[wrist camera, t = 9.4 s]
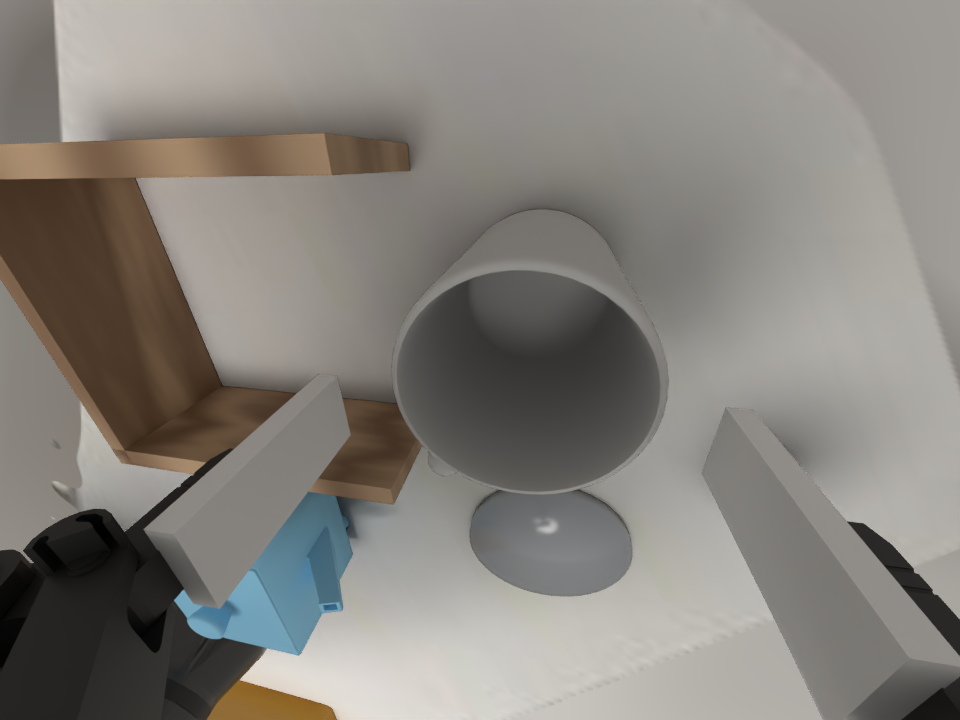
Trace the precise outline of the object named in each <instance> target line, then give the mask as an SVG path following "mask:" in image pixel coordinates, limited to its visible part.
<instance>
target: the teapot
mask: <svg viewBox="0 0 960 720" xmlns="http://www.w3.org/2000/svg"><path fill="white" fill-rule="evenodd" d="M348 526H349V521H348V519H347V518H346V517H345V516H343V515H342V514H341V511H340V508H339V504H338V501H337V498H336V496H334V495H327V494H320V493H314V492H307V494H306V495H305V496H304V498H303V499H302V500H301V502H300V503H299V504H298V506H297V507H296V508H295V510H294V511H293V512H292V514H291V515H290V516H289V518H288V519H287V520H286V522H285V523H284V524H283V526H282V527H281V528H280V530H279V531H278V532H277V534H276V535H275V536H274V538H273V539H272V540H271V542H270V543H269V544H268V546H267V547H266V548H265V550H264V551H263V552H262V554H261V555H260V556H259V558H258V559H257V560H256V562H255V563H254V564H253V566H252V567H251V568H250V570H249V571H248V572H247V574H246V575H245V576H244V578H243V579H242V580H241V582H240V583H239V584H238V586H237V587H236V588H235V590H234V591H233V592H232V594H231V595H230V596H229V598H228V599H227V600H226V602H225V603H224V604H223V606H222V607H221V608H220V609H218V608H213V607H208V606H203V605H198V604H193V603H192V601H191V600H190V598H189V597H188V595H187V594H186V592H185V591H184V590H183V591H182V592H181V593H180V594H179V595H178V596H177V598H176V599H175V600H174V601H175V602H176V604H177V605H178V606H179V608H180V609H181V610H182V612H183V613H184V614H185V616H186V617H187V618H188V619H187V623H188V625H189V626H190V628H191V629H192V630H194V631H195V632H196V633H198V634H200V635H202V636H204V637H207V638H210V639H221V638H222V637H223V638H227V639H231V640H235V641H239V642H244V643H248V644H252V645H256V646H261V647H265V648H269V649H273V650H278V651H282V652H286V653H290V654H294V655H300V654H301V653H302V651H303V649H304V647H305V645H306V643H307V641H308V639H309V637H310V635H311V634H312V632H313V630H314V628H315V626H316V624H317V622H318V620H319V618H320V616H321V614H322V613H328V612H337V611H342V610H343V603H342V596H341V588H340V581H339V580H340V578H341V576H342V574H343V573H344V571H345V569H346V567H347V565H348V563H349V561H350V559H351V557H352V555H353V552H352V549H351V545H350V542H349V538H348V535H347V531H346V528H347V527H348Z"/></svg>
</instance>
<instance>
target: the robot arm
mask: <svg viewBox="0 0 960 720" xmlns="http://www.w3.org/2000/svg"><path fill="white" fill-rule="evenodd" d="M350 435H351V434H350V430H349V425H348V421H347V416H346V412H345V408H344V403H343V399H342V395H341V390H340V386H339V381H338V377H337V376H332V375H319V374H318V375H317V376H316V377H315V378H314V379H313V380H311V381H310V382H309V383H308V384H307V385H306V386H305V387H304V388H302V389H301V390H300V391H299V392H298V393H297V394H296V395H294V396H293V397H292V398H291V399H290V400H289V401H288V402H287V403H285V404H284V405H283V406H282V407H281V408H280V409H279V410H278V411H276V412H275V413H274V414H273V415H272V416H271V417H270V418H269V419H267V420H266V421H265V422H264V423H263V424H262V425H261V426H259V427H258V428H257V429H256V430H255V431H254V432H253V433H252V434H250V435H249V436H248V437H247V438H246V439H245V440H244V441H243V442H241V443H240V444H239V445H238V446H237V447H236V448H235V449H233V448H229V449H228V450H226V451H224V452H222V453H220V454H219V455H217V456H215V457H213V458H211V459H210V460H209V461H208V462H206V463H205V464H204V465H203V466H202V467H200V468H199V469H198V470H197V471H196V472H195V473H194V475H193V476H190V477H189V478H188V479H186V480H185V481H184V482H183V483H182V484H181V486H180V487H177V488H176V489H175V490H174V491H172V492H171V493H170V494H169V495H168V496H167V497H165V498H164V499H163V500H162V501H161V502H160V503H158V504H157V505H156V506H155V507H154V508H152V509H151V510H150V511H149V512H148V513H147V514H145V515H144V516H143V517H142V518H141V519H140V520H138V521H137V522H136V523H135V524H134V525H133V526H131V527H130V528H129V529H128V530H127V531H125V532H124V531H123V530H122V528H121V527H120V525H119V524H118V523H117V521H116V520H115V518H114V517H113V516H112V514H111V513H110V512H108V511H107V510H105V509H92V510H87V511H83V512H79V513H77V514H74V515H71V516H69V517H67V518H64V519H62V520H60V521H58V522H57V523H55V524H53V525H52V526H50V527H48V528H46V529H45V530H44V531H43V532H41V533H40V534H39V535H38V536H36V537H35V538H34V539H32V540H31V542H30V543H29V544H28V545H27V546H26V548H25V549H24V550H23V551H24V552H25V553H26V555H27V556H28V557H29V558H30V559H31V560H32V561H33V562H34V563H29V561H28V560H27V559H26V558H25V557H24V556H23V555H22V554H21V553H20V552H18V551H16V550H2V551H0V720H207V718H208V717H209V715H210V713H211V712H212V710H213V709H214V707H215V706H216V704H217V703H218V702H219V700H220V699H221V698H222V697H223V696H224V695H225V694H226V693H227V692H228V691H229V690H230V689H231V688H232V687H233V686H234V685H235V684H236V683H237V682H238V681H239V680H240V678H241V677H242V676H243V675H244V674H245V673H246V672H247V671H248V670H249V669H250V668H251V667H252V666H253V665H254V663H255V662H256V661H258V660H259V659H260V658H261V656H262V655H263V654H264V652H265V651H266V649H267V648H265V647H261V646H256V645H252V644H248V643H244V642H239V641H235V640H231V639H227V638H223V637H222V638H221V639H210V638H207V637H204V636H202V635H200V634H198V633H196V632H195V631H194V630H192V629H191V628H190V626H189V625H188V623H187V619H188V618H187V617H186V616H185V614H184V613H183V612H182V610H181V609H180V608H179V606H178V605H177V604H176V602H175V601H174V600H175V599H176V598H177V596H178V595H179V594H180V593H181V592H182V591H183V590H184V591H185V592H186V594H187V595H188V597H189V598H190V600H191V601H192V603H193V604H198V605H203V606H208V607H213V608H218V609H220V608H221V607H222V606H223V604H224V603H225V602H226V600H227V599H228V598H229V596H230V595H231V594H232V592H233V591H234V590H235V588H236V587H237V586H238V584H239V583H240V582H241V580H242V579H243V578H244V576H245V575H246V574H247V572H248V571H249V570H250V568H251V567H252V566H253V564H254V563H255V562H256V560H257V559H258V558H259V556H260V555H261V554H262V552H263V551H264V550H265V548H266V547H267V546H268V544H269V543H270V542H271V540H272V539H273V538H274V536H275V535H276V534H277V532H278V531H279V530H280V528H281V527H282V526H283V524H284V523H285V522H286V520H287V519H288V518H289V516H290V515H291V514H292V512H293V511H294V510H295V508H296V507H297V506H298V504H299V503H300V502H301V500H302V499H303V498H304V496H305V495H306V494H307V492H308V491H309V490H310V488H311V487H312V486H313V484H314V483H315V482H316V480H317V479H318V478H319V476H320V475H321V474H322V472H323V471H324V470H325V468H326V467H327V466H328V464H329V463H330V462H331V460H332V459H333V458H334V456H335V455H336V454H337V452H338V451H339V450H340V448H341V447H342V446H343V444H344V443H345V442H346V440H347V439H348V438H349V436H350ZM702 474H703V476H704V478H705V480H706V482H707V484H708V486H709V488H710V490H711V492H712V494H713V496H714V498H715V500H716V502H717V504H718V506H719V509H720V511H721V513H722V515H723V517H724V519H725V521H726V523H727V525H728V527H729V529H730V531H731V533H732V535H733V537H734V539H735V541H736V543H737V545H738V547H739V549H740V551H741V553H742V555H743V557H744V559H745V561H746V563H747V565H748V567H749V569H750V571H751V573H752V575H753V577H754V579H755V581H756V583H757V585H758V587H759V589H760V591H761V593H762V595H763V597H764V599H765V601H766V603H767V605H768V607H769V609H770V611H771V613H772V615H773V617H774V619H775V621H776V623H777V625H778V627H779V629H780V631H781V633H782V635H783V637H784V639H785V641H786V643H787V646H788V647H789V650H790V652H791V654H792V656H793V658H794V660H795V662H796V664H797V666H798V668H799V670H800V672H801V674H802V676H803V678H804V680H805V682H806V684H807V686H808V688H809V690H810V692H811V694H812V696H813V698H814V700H815V702H816V704H817V706H818V708H819V710H820V712H821V714H822V716H823V718H824V720H960V619H958V617H957V616H956V615H955V614H954V613H953V612H952V611H951V609H950V608H949V607H948V606H947V605H946V604H945V603H944V602H943V601H942V600H941V598H940V597H939V596H938V595H934V594H933V592H932V589H931V588H930V586H929V585H928V584H927V583H926V582H925V581H924V580H923V579H922V578H921V577H920V575H919V574H915V573H914V569H913V568H912V566H911V565H910V564H909V563H908V562H907V561H906V560H905V559H904V558H903V557H902V555H901V554H900V553H899V552H898V551H897V550H896V549H895V548H894V547H893V545H891V544H890V543H889V542H887V541H886V540H885V539H883V538H882V537H881V536H879V535H878V534H877V533H875V532H874V531H873V530H871V529H870V528H869V527H867V526H866V525H865V524H863V523H855V522H847V521H846V520H845V519H844V518H843V516H842V515H841V514H840V513H839V512H838V510H837V509H836V508H835V507H834V506H833V505H832V503H831V502H830V501H829V500H828V499H827V497H826V496H825V495H824V494H823V493H822V491H821V490H820V489H819V488H818V487H817V485H816V484H815V483H814V482H813V481H812V479H811V478H810V477H809V476H808V475H807V473H806V472H805V471H804V470H803V469H802V468H801V466H800V465H799V464H798V463H797V462H796V460H795V459H794V458H793V457H792V456H791V454H790V453H789V452H788V451H787V450H786V448H785V447H784V446H783V445H782V444H781V442H780V441H779V440H778V439H777V438H776V437H775V435H774V434H773V433H772V432H771V431H770V429H769V428H768V427H767V426H766V425H765V423H764V422H763V421H762V420H761V419H760V417H759V416H758V415H757V414H756V413H755V411H754V410H751V409H739V408H727V407H726V408H725V411H724V414H723V417H722V419H721V422H720V425H719V427H718V430H717V433H716V436H715V438H714V441H713V444H712V446H711V449H710V452H709V455H708V457H707V460H706V463H705V465H704V468H703V471H702Z"/></svg>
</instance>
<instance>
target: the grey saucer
mask: <svg viewBox="0 0 960 720" xmlns="http://www.w3.org/2000/svg"><path fill="white" fill-rule="evenodd" d="M470 543H471V546H472V549H473V551H474V553H475V555H476V556H477V558H478V559H479V560H480V562H481V563H482V564H483V565H484V566H485V567H486V568H487V569H488V570H489V571H490V572H492V573H493V574H494V575H496V576H497V577H499V578H500V579H502V580H504V581H505V582H507V583H509V584H511V585H514V586H516V587H519V588H521V589H524V590H527V591H530V592H534V593H539V594H544V595H551V596H580V595H586V594H591V593H594V592H598V591H600V590H603V589H606V588H607V587H609V586H611V585H613V584H614V583H616V582H617V581H618V580H620V579H621V578H622V577H623V576H624V575H625V573H626V572H627V570H628V569H629V566H630V564H631V560H632V546H631V540H630V536H629V532H628V530H627V528H626V526H625V524H624V522H623V521H622V520H621V518H620V517H619V516H618V515H617V514H616V513H615V512H614V511H613V510H612V509H611V508H610V507H609V506H607V505H606V504H605V503H603V502H602V501H600V500H598V499H597V498H595V497H593V496H591V495H589V494H587V493H584V492H581V491H579V490H573V491H569V492H563V493H557V494H542V495H539V494H521V493H513V492H507V491H503V490H500V491H498V492H496V493H494V494H492V495H491V496H489V497H488V498H486V499H485V500H484V501H483V502H482V503H481V504H480V505H479V507H478V508H477V509H476V511H475V513H474V516H473V519H472V523H471V527H470Z"/></svg>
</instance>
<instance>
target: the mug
mask: <svg viewBox="0 0 960 720" xmlns="http://www.w3.org/2000/svg"><path fill="white" fill-rule="evenodd" d="M391 368H392V384H393V389H394V395H395V398H396V401H397V404H398V407H399V410H400V412H401V414H402V416H403V418H404V420H405V422H406V424H407V425H408V427H409V428H410V430H411V432H412V433H413V435H414V436H415V437H416V438H417V440H418V441H419V442H420V443H421V444H422V446H423V447H424V448H425V449H426V450H427V451H428V452H429V454H428V464H429V466H430V467H431V469H432V470H433V471H434V472H435V473H437V474H439V475H441V476H451V475H453V474H455V473H458V474H460V475H462V476H464V477H465V478H467V479H469V480H472V481H474V482H477V483H479V484H481V485H484V486H488V487H491V488H494V489H498V490H503V491H507V492H513V493H521V494H539V495H542V494H557V493H563V492H569V491H573V490H577V489H581V488H585V487H588V486H590V485H593V484H595V483H598V482H601V481H602V480H604V479H606V478H608V477H610V476H612V475H614V474H615V473H617V472H618V471H620V470H621V469H623V468H624V467H625V466H627V465H628V464H629V463H630V462H631V461H633V460H634V459H635V458H636V457H637V456H638V455H639V454H640V453H641V452H642V451H643V449H644V448H645V447H646V446H647V445H648V444H649V442H650V441H651V439H652V437H653V436H654V434H655V433H656V431H657V429H658V427H659V424H660V422H661V420H662V417H663V414H664V410H665V406H666V402H667V398H668V385H669V379H668V368H667V362H666V358H665V354H664V351H663V347H662V343H661V341H660V339H659V337H658V335H657V332H656V330H655V328H654V326H653V324H652V322H651V320H650V318H649V316H648V315H647V313H646V311H645V310H644V308H643V306H642V304H641V303H640V301H639V299H638V298H637V296H636V294H635V292H634V291H633V289H632V287H631V286H630V284H629V282H628V281H627V279H626V277H625V275H624V274H623V272H622V270H621V269H620V267H619V265H618V263H617V261H616V259H615V257H614V255H613V253H612V251H611V249H610V247H609V246H608V244H607V243H606V241H605V240H604V239H603V238H602V236H601V235H600V234H599V233H598V232H597V231H596V230H595V229H594V228H592V227H591V226H590V225H589V224H588V223H586V222H584V221H583V220H581V219H579V218H577V217H575V216H573V215H570V214H568V213H564V212H561V211H557V210H548V209H534V210H528V211H523V212H519V213H516V214H513V215H511V216H509V217H507V218H504V219H502V220H501V221H499V222H498V223H496V224H494V225H493V226H492V227H490V228H489V229H488V230H487V231H486V232H485V233H483V234H482V236H481V237H480V238H479V239H478V240H477V241H476V242H475V244H474V245H473V246H472V247H471V248H470V249H469V250H468V251H467V252H466V253H465V254H463V255H462V256H461V257H460V258H459V259H458V260H457V261H456V262H455V263H454V264H453V265H452V266H451V267H450V268H449V269H448V270H447V271H446V272H445V273H444V274H443V275H442V276H441V277H440V278H439V279H438V280H437V281H436V282H435V283H434V284H433V285H432V286H431V287H430V288H429V289H428V290H427V291H426V292H425V293H424V294H423V295H422V296H421V298H420V299H419V300H418V301H417V302H416V303H415V304H414V306H413V307H412V309H411V310H410V312H409V314H408V315H407V317H406V318H405V320H404V322H403V324H402V326H401V328H400V331H399V333H398V335H397V339H396V342H395V346H394V350H393V357H392V366H391Z"/></svg>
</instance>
